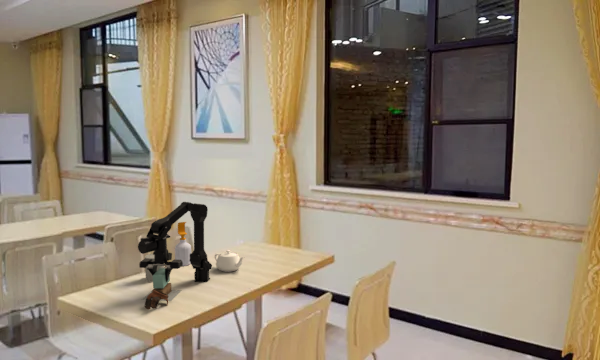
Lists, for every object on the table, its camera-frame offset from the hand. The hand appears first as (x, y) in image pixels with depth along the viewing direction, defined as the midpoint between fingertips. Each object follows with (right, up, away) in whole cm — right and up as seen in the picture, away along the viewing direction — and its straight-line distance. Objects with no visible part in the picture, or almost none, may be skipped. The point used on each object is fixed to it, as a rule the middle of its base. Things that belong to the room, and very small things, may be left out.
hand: (161, 281), depth 223 cm
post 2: (0, -6, +3) cm, 7 cm away
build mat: (0, -7, +1) cm, 7 cm away
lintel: (0, -1, 0) cm, 1 cm away
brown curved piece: (+1, -9, -13) cm, 16 cm away
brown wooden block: (0, -7, -2) cm, 7 cm away
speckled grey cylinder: (-10, -4, +25) cm, 27 cm away
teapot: (+25, -2, +41) cm, 48 cm away
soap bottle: (-2, -1, +52) cm, 52 cm away
